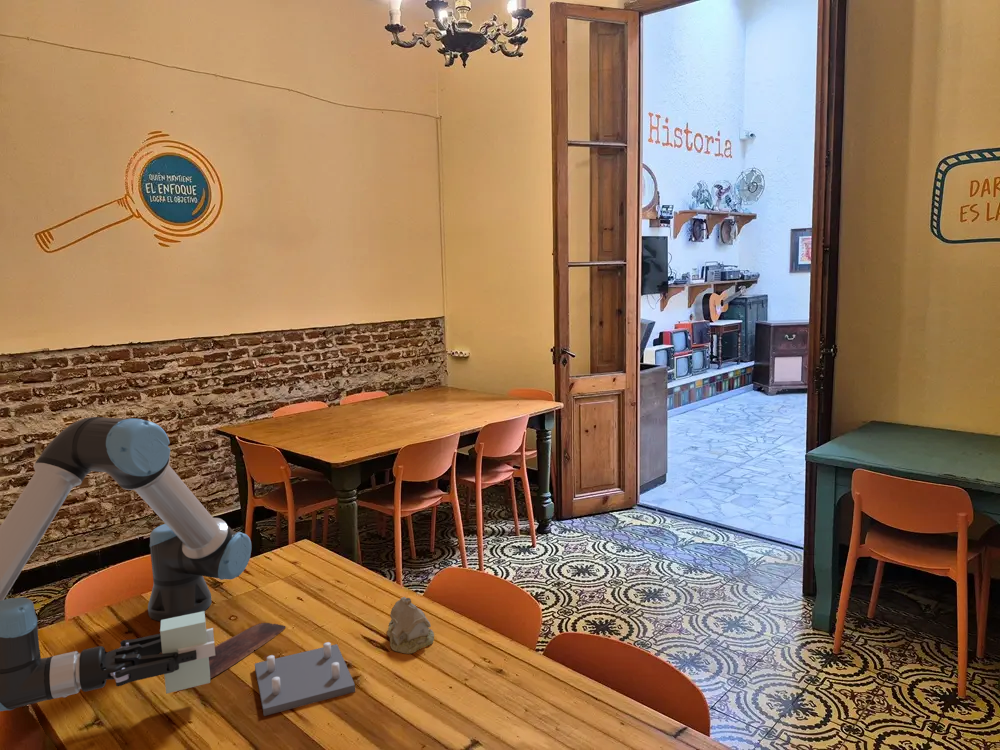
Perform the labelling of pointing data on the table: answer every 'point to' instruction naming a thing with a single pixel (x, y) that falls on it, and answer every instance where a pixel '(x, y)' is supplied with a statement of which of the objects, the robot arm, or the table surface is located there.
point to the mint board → (183, 635)
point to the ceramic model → (408, 627)
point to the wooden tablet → (241, 646)
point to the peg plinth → (302, 678)
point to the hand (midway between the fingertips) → (213, 641)
